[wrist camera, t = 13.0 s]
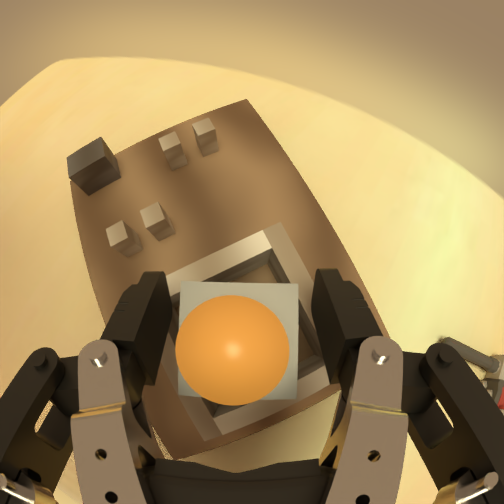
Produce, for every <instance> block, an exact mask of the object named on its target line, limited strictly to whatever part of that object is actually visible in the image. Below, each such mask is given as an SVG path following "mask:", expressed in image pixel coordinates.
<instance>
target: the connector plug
mask: <svg viewBox="0 0 504 504" xmlns="http://www.w3.org/2000/svg"><path fill="white" fill-rule="evenodd" d="M175 351H176V360H177V364H178V395H183V396H193V397H204V398H206V399H208V400H210V401H212V402H215V403H218V404H223V405H244V404H248V403H252V402H255V401H257V400H275V399H297V374H298V284H290V283H229V282H196V281H181V290H180V311H179V332H178V334H177V339H176V347H175Z"/></svg>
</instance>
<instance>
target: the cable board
mask: <svg viewBox="0 0 504 504" xmlns="http://www.w3.org/2000/svg"><path fill="white" fill-rule="evenodd" d="M67 165H68V174H69V178H70V179H71V181H70V184H71V192H72V198H73V204H74V210H75V216H76V221H77V226H78V231H79V235H80V240H81V244H82V249H83V253H84V257H85V261H86V264H87V268H88V272H89V275H90V279H91V282H92V286H93V289H94V292H95V295H96V299H97V302H98V305H99V308H100V311H101V314H102V316H103V319H104V322H105V325H107V323H108V321H109V319H110V317H111V315H112V313H113V312H114V309H115V307H116V305H117V304H118V301H119V299H120V297H121V295H122V293H123V292H124V291H125V290H126V289H127V288H129V287H130V286H131V285H132V284H138V282H139V280H140V278H141V276H142V274H143V272H145V271H163V272H164V273H165V275H166V279H167V284H168V288H169V293H170V297H171V302H172V319H171V323H170V327H169V330H168V334H167V338H166V342H165V345H164V349H163V353H162V357H161V361H160V365H159V369H158V374H157V378H156V382H155V386H149V385H144V388H143V392H142V395H143V396H144V399H145V403H146V407H147V411H148V415H149V418H150V422H151V424H152V426H153V427H154V429H155V431H156V432H157V434H158V436H159V437H160V439H161V441H162V442H163V444H164V445H165V447H166V449H167V450H168V452H169V453H170V455H171V456H172V458H173V459H174V460H178V459H181V458H185V457H188V456H192V455H195V454H198V453H202V452H205V451H208V450H211V449H214V448H217V447H220V446H222V445H225V444H228V443H231V442H233V441H236V440H239V439H241V438H244V437H246V436H249V435H251V434H254V433H256V432H258V431H261V430H263V429H265V428H268V427H270V426H272V425H274V424H276V423H279V422H281V421H283V420H285V419H287V418H289V417H291V416H293V415H295V414H297V413H299V412H301V411H303V410H305V409H307V408H309V407H311V406H313V405H314V404H316V403H318V402H320V401H322V400H324V399H325V398H327V397H329V396H331V395H332V394H334V393H336V392H337V391H339V390H341V386H340V383H338V384H330V383H329V379H328V375H327V371H326V367H325V363H324V359H323V355H322V351H321V348H320V344H319V340H318V336H317V333H316V329H315V325H314V321H313V318H312V313H311V300H312V293H313V286H314V279H315V273H316V270H317V269H319V268H337V269H338V271H339V273H340V275H341V277H342V279H343V281H349V280H350V281H351V282H352V283H354V284H355V285H356V286H357V287H358V288H359V289H360V290H361V292H362V294H363V296H364V300H366V302H367V304H368V308H370V310H371V312H372V314H373V316H374V318H375V320H376V322H377V324H378V326H379V328H380V330H381V332H382V334H383V336H384V337H387V338H390V337H389V335H388V332H387V330H386V328H385V326H384V324H383V322H382V320H381V317H380V315H379V313H378V311H377V309H376V307H375V305H374V303H373V301H372V299H371V297H370V295H369V293H368V291H367V289H366V287H365V285H364V283H363V281H362V279H361V278H360V276H359V274H358V272H357V270H356V268H355V266H354V264H353V263H352V261H351V259H350V257H349V255H348V253H347V252H346V250H345V248H344V246H343V244H342V243H341V241H340V239H339V237H338V236H337V234H336V232H335V230H334V229H333V227H332V225H331V224H330V222H329V220H328V219H327V217H326V215H325V214H324V212H323V210H322V209H321V207H320V205H319V204H318V202H317V200H316V199H315V197H314V196H313V194H312V192H311V191H310V189H309V188H308V186H307V185H306V183H305V181H304V180H303V178H302V177H301V175H300V174H299V172H298V171H297V169H296V168H295V166H294V165H293V163H292V162H291V160H290V159H289V157H288V156H287V154H286V153H285V151H284V150H283V148H282V147H281V145H280V144H279V142H278V141H277V140H276V138H275V137H274V135H273V134H272V133H271V131H270V130H269V128H268V127H267V126H266V124H265V123H264V121H263V120H262V119H261V117H260V116H259V115H258V113H257V112H256V111H255V109H254V108H253V107H252V105H251V104H250V103H249V101H248V100H247V99H245V100H242V101H239V102H236V103H233V104H230V105H227V106H224V107H221V108H218V109H216V110H213V111H210V112H207V113H205V114H202V115H200V116H197V117H194V118H192V119H189V120H187V121H185V122H182V123H180V124H177V125H175V126H173V127H171V128H168V129H166V130H164V131H162V132H159V133H157V134H155V135H153V136H151V137H149V138H147V139H145V140H142V141H140V142H138V143H136V144H134V145H132V146H130V147H129V148H127V149H125V150H123V151H121V152H119V153H117V154H115V155H113V153H112V152H111V150H110V149H109V148H108V146H107V145H106V143H105V142H104V140H103V139H102V137H99V138H98V139H96V140H94V141H92V142H91V143H89V144H87V145H86V146H84V147H82V148H81V149H79V150H78V151H76V152H74V153H73V154H71V155H70V156H68V157H67ZM181 281H196V282H229V283H290V284H298V374H297V399H275V400H257V401H255V402H252V403H248V404H244V405H223V404H218V403H215V402H212V401H210V400H208V399H206V398H204V397H193V396H183V395H178V364H177V360H176V351H175V347H176V339H177V334H178V332H179V311H180V290H181Z"/></svg>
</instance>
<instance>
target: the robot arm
mask: <svg viewBox="0 0 504 504" xmlns="http://www.w3.org/2000/svg"><path fill="white" fill-rule="evenodd" d="M311 313H312V318H313V321H314V325H315V329H316V333H317V336H318V340H319V344H320V348H321V351H322V355H323V359H324V363H325V367H326V371H327V375H328V379H329V383H330V384H338V383H340V386H341V390H342V391H341V393H340V395H339V399H338V403H337V407H336V411H335V414H334V418H333V422H332V425H331V429H330V432H329V436H328V439H327V442H326V444H325V447H324V449H323V451H322V453H321V456H320V458H319V459H311V460H303V461H294V462H283V463H276V464H273V465H269V466H266V467H262V468H258V469H254V470H250V471H246V472H241V473H231V472H227V471H223V470H219V469H215V468H212V467H208V466H205V465H201V464H198V463H195V462H185V461H176V460H168V459H165V458H164V456H163V454H162V452H161V450H160V448H159V446H158V444H157V442H156V439H155V436H154V432H153V429H152V425H151V422H150V418H149V415H148V411H147V407H146V403H145V399H144V396H143V395H142V392H143V388H144V385H149V386H155V382H156V378H157V374H158V369H159V365H160V361H161V357H162V353H163V349H164V345H165V342H166V338H167V334H168V330H169V327H170V323H171V319H172V302H171V297H170V293H169V288H168V284H167V279H166V275H165V273H164V272H163V271H145V272H143V274H142V276H141V278H140V280H139V282H138V284H132V285H131V286H130V287H129V288H127V289H126V290H125V291H124V292H123V293H122V295H121V297H120V299H119V301H118V304H117V305H116V307H115V309H114V312H113V313H112V315H111V317H110V319H109V321H108V323H107V325H106V327H105V329H104V332H103V334H102V336H101V338H100V340H96V341H93V342H90V343H89V344H87V345H86V346H85V347H84V348H83V349H82V350H81V352H80V354H79V356H73V357H66V358H59V357H58V355H57V354H56V352H55V351H54V350H53V349H51V348H47V347H45V348H40V349H38V350H36V351H34V352H33V353H32V354H31V355H30V356H29V358H28V359H27V360H26V362H25V363H24V364H23V366H22V367H21V369H20V370H19V371H18V373H17V374H16V376H15V377H14V379H13V380H12V382H11V383H10V385H9V386H8V388H7V389H6V391H5V392H4V394H3V395H2V397H1V398H0V504H58V502H57V501H56V500H55V499H54V496H53V493H54V491H55V488H56V486H57V484H58V481H59V479H60V477H61V475H62V472H63V470H64V468H65V466H66V463H67V461H68V459H69V457H70V455H71V453H72V451H74V458H75V465H76V471H77V476H78V482H79V486H80V491H81V495H82V500H83V504H395V502H396V498H397V494H398V489H399V484H400V479H401V474H402V468H403V462H404V455H405V448H406V440H407V431H408V433H409V435H410V437H411V439H412V441H413V442H414V444H415V446H416V448H417V450H418V452H419V454H420V456H421V457H422V459H423V461H424V463H425V465H426V467H427V469H428V471H429V473H430V475H431V477H432V479H433V481H434V483H435V485H436V487H437V489H438V491H439V492H438V494H437V496H436V499H435V501H434V502H433V504H504V415H503V413H502V412H501V410H500V409H499V407H498V406H497V404H496V403H495V401H494V400H493V398H492V397H491V396H490V394H489V393H488V391H487V390H486V388H485V387H484V386H483V384H482V383H481V382H480V380H479V379H478V377H477V376H476V375H475V373H474V372H473V371H472V369H471V368H470V367H469V366H468V364H467V363H466V362H465V360H464V359H463V358H462V357H461V355H460V354H459V353H458V352H457V351H456V349H454V348H453V347H452V346H450V345H448V344H445V343H435V344H433V345H431V346H430V347H429V348H428V350H427V351H426V353H425V354H422V353H412V352H404V351H402V350H401V348H400V346H399V345H398V344H397V343H396V342H395V341H393V340H392V339H390V338H387V337H384V336H383V334H382V332H381V330H380V328H379V326H378V324H377V322H376V320H375V318H374V316H373V314H372V312H371V310H370V308H368V304H367V302H366V300H364V296H363V294H362V292H361V290H360V289H359V288H358V287H357V286H356V285H355V284H354V283H352V282H351V281H350V280H349V281H343V279H342V277H341V275H340V273H339V271H338V269H337V268H319V269H317V270H316V273H315V279H314V286H313V293H312V300H311ZM437 399H438V400H439V402H440V403H441V405H442V406H443V408H444V409H445V411H446V413H447V414H448V416H449V417H450V419H451V421H452V423H453V427H454V428H453V427H452V426H451V424H450V423H449V421H448V419H447V418H446V416H445V414H444V413H443V411H442V410H441V408H440V407H439V405H438V403H437V402H436V400H437ZM49 400H50V401H51V402H52V404H53V406H52V408H51V409H50V411H49V413H48V415H47V416H46V418H45V420H44V422H43V423H42V425H41V427H40V429H39V431H38V432H36V433H35V424H36V422H37V420H38V418H39V416H40V415H41V413H42V411H43V409H44V408H45V406H46V404H47V403H48V401H49Z"/></svg>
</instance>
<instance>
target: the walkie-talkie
mask: <svg viewBox="0 0 504 504" xmlns="http://www.w3.org/2000/svg"><path fill="white" fill-rule="evenodd" d="M442 343H445V344H448V345H450V346H452V347H453V348H454V349H456V351H457V352H458V353H459V354H460V355H461V357H462V358H463V359H465V360H467V361H469V362H472V363H474V364H476V365H478V366H480V367H483V368H484V369H485V370H486V371H487V372H486V375H485V378H484V379H483V380H482V381H480V382H481V383H482V384H483V386H484V387H485V388H486V390H487V391H488V393H489V394H490V396H491V397H492V398H493V400H494V401H495V403H496V404H497V406H498V407H499V409H500V410H501V412H502V413H503V415H504V355H492V356H490V357H488V356H486V355H484V354H482V353H480V352H478V351H476V350H474V349H472V348H470V347H468V346H466V345H464V344H462V343H460V342H458V341H456V340H454V339H452V338H450V337H447V338H445V339H444V340H443V341H442Z"/></svg>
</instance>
